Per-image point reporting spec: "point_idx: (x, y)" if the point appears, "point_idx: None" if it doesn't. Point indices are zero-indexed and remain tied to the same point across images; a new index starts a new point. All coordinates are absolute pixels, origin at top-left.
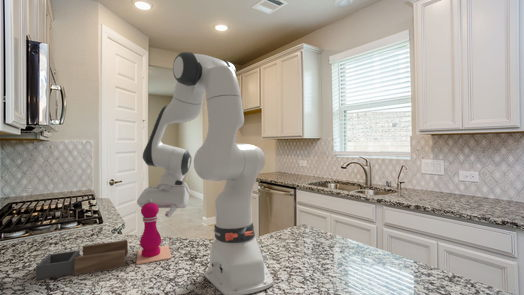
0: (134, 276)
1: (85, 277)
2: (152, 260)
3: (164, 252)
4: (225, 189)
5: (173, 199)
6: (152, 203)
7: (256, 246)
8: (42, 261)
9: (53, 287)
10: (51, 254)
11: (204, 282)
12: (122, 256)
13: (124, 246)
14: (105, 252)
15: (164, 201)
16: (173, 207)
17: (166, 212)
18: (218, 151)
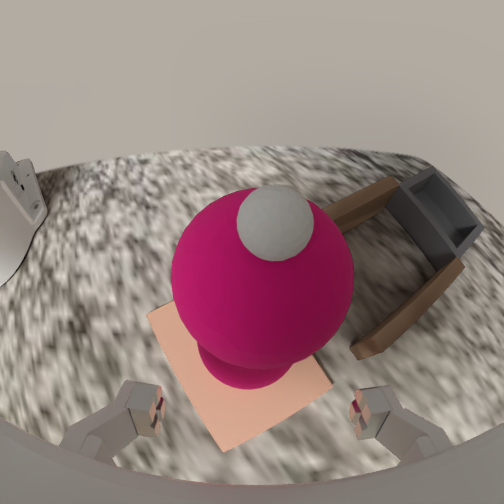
0: (208, 197)
1: (335, 190)
2: None
3: (196, 367)
4: None
5: (51, 489)
6: (226, 235)
7: None
8: (451, 189)
9: (356, 157)
10: (479, 227)
11: (50, 191)
12: None
13: (370, 335)
14: (348, 211)
15: (183, 499)
16: (75, 426)
17: (148, 401)
18: None
